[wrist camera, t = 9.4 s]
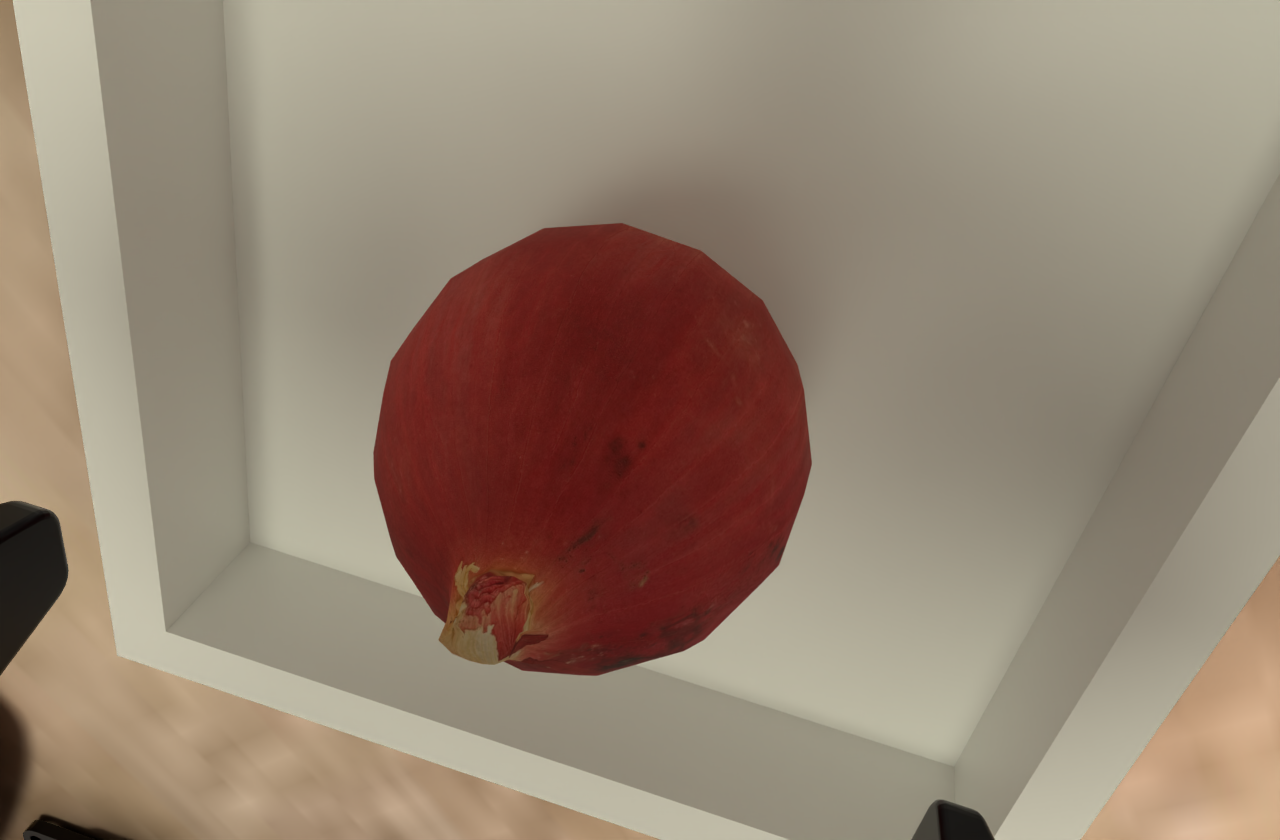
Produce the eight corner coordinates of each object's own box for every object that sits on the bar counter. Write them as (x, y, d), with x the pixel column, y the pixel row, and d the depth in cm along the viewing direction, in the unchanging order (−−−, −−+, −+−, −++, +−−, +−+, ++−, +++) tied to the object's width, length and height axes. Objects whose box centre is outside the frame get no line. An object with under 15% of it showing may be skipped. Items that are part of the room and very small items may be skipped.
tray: (989, 798, 21) (1000, 954, 18) (219, 550, 23) (116, 655, 20) (1569, -176, 11) (1792, -176, 8) (146, -459, 13) (-73, -538, 10)
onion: (888, 413, 16) (867, 813, 10) (601, 512, 19) (428, 885, 12) (728, 91, 14) (564, 318, 8) (430, 249, 17) (114, 523, 10)
